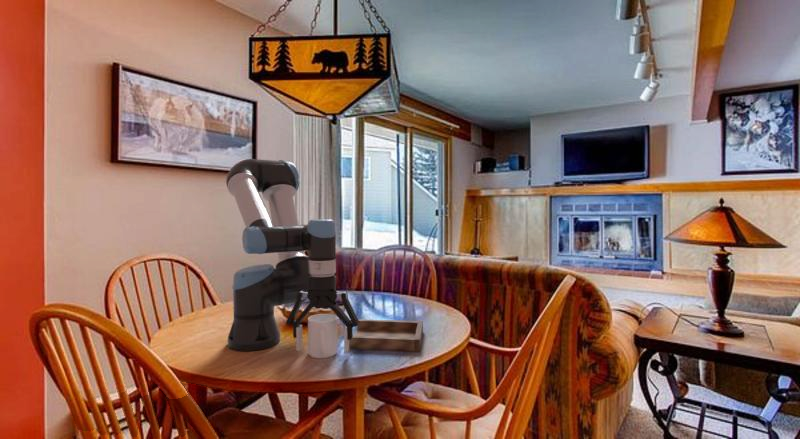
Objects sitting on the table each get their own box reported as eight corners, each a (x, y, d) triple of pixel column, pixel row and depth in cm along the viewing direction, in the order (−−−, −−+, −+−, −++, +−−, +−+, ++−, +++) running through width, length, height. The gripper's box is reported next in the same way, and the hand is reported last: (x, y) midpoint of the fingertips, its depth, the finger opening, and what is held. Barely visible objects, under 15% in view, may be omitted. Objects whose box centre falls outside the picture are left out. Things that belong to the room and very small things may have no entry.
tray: (345, 348, 118) (345, 337, 118) (358, 329, 136) (358, 319, 136) (419, 351, 116) (419, 339, 115) (422, 331, 134) (422, 321, 133)
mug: (338, 363, 107) (337, 325, 107) (306, 365, 106) (306, 326, 105) (337, 347, 119) (337, 313, 119) (308, 349, 118) (308, 314, 117)
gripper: (273, 276, 109) (274, 353, 110) (363, 277, 106) (364, 356, 107) (284, 271, 117) (285, 343, 117) (368, 273, 114) (369, 346, 115)
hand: (323, 350), depth 112 cm, fingers open, 13 cm apart
